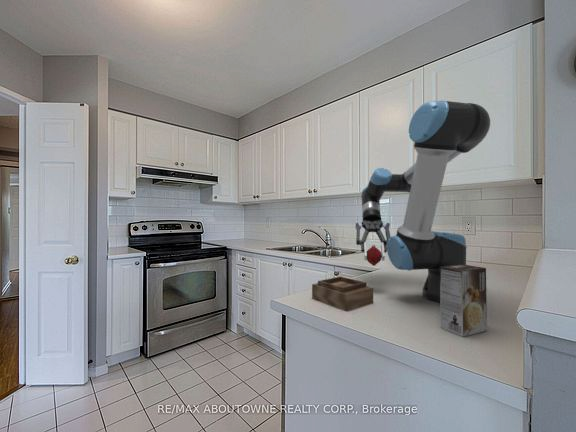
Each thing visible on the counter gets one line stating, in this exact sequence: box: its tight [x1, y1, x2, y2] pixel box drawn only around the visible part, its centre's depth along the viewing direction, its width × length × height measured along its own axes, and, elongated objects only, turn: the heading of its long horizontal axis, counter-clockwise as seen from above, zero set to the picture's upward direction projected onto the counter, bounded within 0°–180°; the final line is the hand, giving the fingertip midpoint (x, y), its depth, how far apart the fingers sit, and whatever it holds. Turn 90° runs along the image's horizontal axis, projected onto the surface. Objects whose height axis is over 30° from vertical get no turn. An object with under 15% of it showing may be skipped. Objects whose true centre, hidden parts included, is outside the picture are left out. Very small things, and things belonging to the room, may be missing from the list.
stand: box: [311, 276, 374, 312], centre depth 95 cm, size 16×13×6 cm
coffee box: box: [439, 264, 488, 338], centre depth 71 cm, size 9×6×16 cm
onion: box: [366, 244, 382, 266], centre depth 106 cm, size 6×6×8 cm
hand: (374, 258), depth 102 cm, fingers closed on onion, 6 cm apart
